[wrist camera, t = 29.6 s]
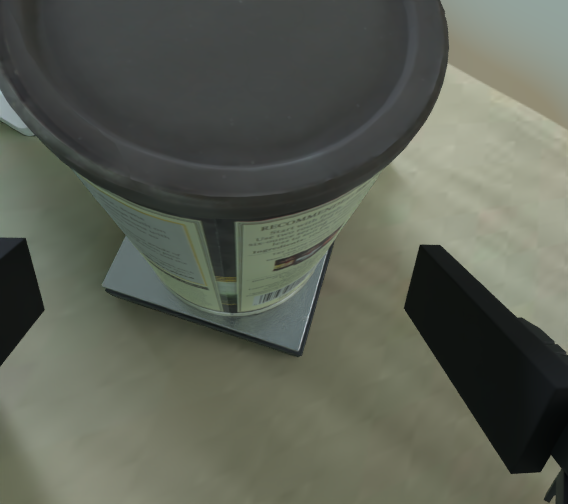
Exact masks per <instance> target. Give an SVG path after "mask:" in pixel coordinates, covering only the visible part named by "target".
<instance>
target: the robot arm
mask: <svg viewBox="0 0 568 504" xmlns="http://www.w3.org/2000/svg"><path fill="white" fill-rule="evenodd" d="M404 309H405V311H406V312H407V314H408V315H409V317H410V319H411V320H412V322H413V323H414V325H415V326H416V328H417V329H418V331H419V332H420V334H421V336H422V337H423V339H424V340H425V342H426V343H427V345H428V346H429V348H430V349H431V351H432V353H433V354H434V356H435V357H436V359H437V360H438V362H439V363H440V365H441V367H442V368H443V370H444V371H445V373H446V374H447V376H448V377H449V379H450V380H451V382H452V384H453V385H454V387H455V388H456V390H457V391H458V393H459V394H460V396H461V397H462V399H463V401H464V402H465V404H466V405H467V407H468V408H469V410H470V411H471V413H472V414H473V416H474V418H475V419H476V421H477V422H478V424H479V425H480V427H481V428H482V430H483V431H484V433H485V435H486V436H487V438H488V439H489V441H490V442H491V444H492V445H493V447H494V449H495V450H496V452H497V453H498V455H499V456H500V458H501V459H502V461H503V462H504V464H505V466H506V467H507V469H508V470H509V472H510V473H511V474H518V473H535V472H541V471H542V469H543V467H544V466H545V464H546V462H547V461H548V459H549V457H550V456H551V455H552V457H553V458H554V459H555V460H556V462H557V463H558V464H559V466H560V467H561V468H562V469H561V471H560V472H559V474H558V475H557V477H556V479H555V480H554V482H553V483H552V485H551V487H550V488H549V490H548V491H547V493H546V495H545V498H544V500H545V501H547V502H550V501H551V499H552V498H553V496H555V495H556V503H555V504H568V355H567V354H566V352H565V351H564V350H563V349H562V348H561V347H560V346H559V345H558V344H555V343H554V341H553V340H552V339H551V338H550V337H549V336H548V335H547V334H546V333H544V332H543V331H542V330H541V329H540V328H538V327H537V326H535V325H533V324H531V323H530V322H528V321H526V320H525V319H523V318H517V317H516V316H515V315H514V314H513V313H512V312H510V311H509V310H508V309H507V308H506V307H505V306H504V305H503V304H502V303H501V302H500V301H499V300H498V299H497V298H496V297H495V296H494V295H493V294H491V293H490V292H489V291H488V290H487V289H486V288H485V287H484V286H483V285H482V284H481V283H480V282H479V281H478V280H477V279H476V278H475V277H473V276H472V275H471V274H470V273H469V272H468V271H467V270H466V269H465V268H464V267H463V266H462V265H461V264H460V263H459V262H458V261H457V260H455V259H454V258H453V257H452V256H451V255H450V254H449V253H448V252H447V251H446V250H445V249H444V248H443V247H442V246H441V245H420V246H419V250H418V254H417V258H416V262H415V266H414V270H413V274H412V278H411V282H410V286H409V290H408V294H407V298H406V302H405V306H404ZM44 310H45V309H44V305H43V301H42V298H41V294H40V290H39V286H38V283H37V279H36V275H35V271H34V268H33V264H32V260H31V256H30V253H29V249H28V245H27V241H26V238H0V366H1V365H2V364H3V362H4V361H5V360H6V358H7V357H8V356H9V355H10V353H11V352H12V351H13V350H14V348H15V347H16V346H17V344H18V343H19V342H20V341H21V339H22V338H23V337H24V335H25V334H26V333H27V332H28V330H29V329H30V328H31V327H32V325H33V324H34V323H35V321H36V320H37V319H38V318H39V316H40V315H41V314H42V312H43V311H44Z"/></svg>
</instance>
